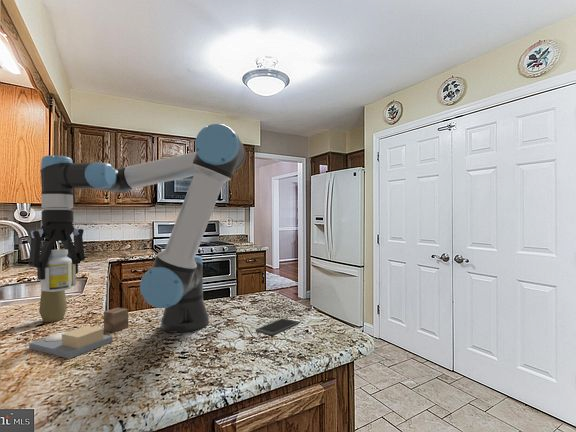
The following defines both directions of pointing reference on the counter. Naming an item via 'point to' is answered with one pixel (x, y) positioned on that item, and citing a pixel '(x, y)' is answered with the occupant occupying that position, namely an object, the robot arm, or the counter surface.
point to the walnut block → (115, 319)
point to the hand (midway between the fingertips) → (58, 287)
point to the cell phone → (277, 326)
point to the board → (65, 349)
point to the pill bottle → (59, 270)
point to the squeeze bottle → (52, 305)
